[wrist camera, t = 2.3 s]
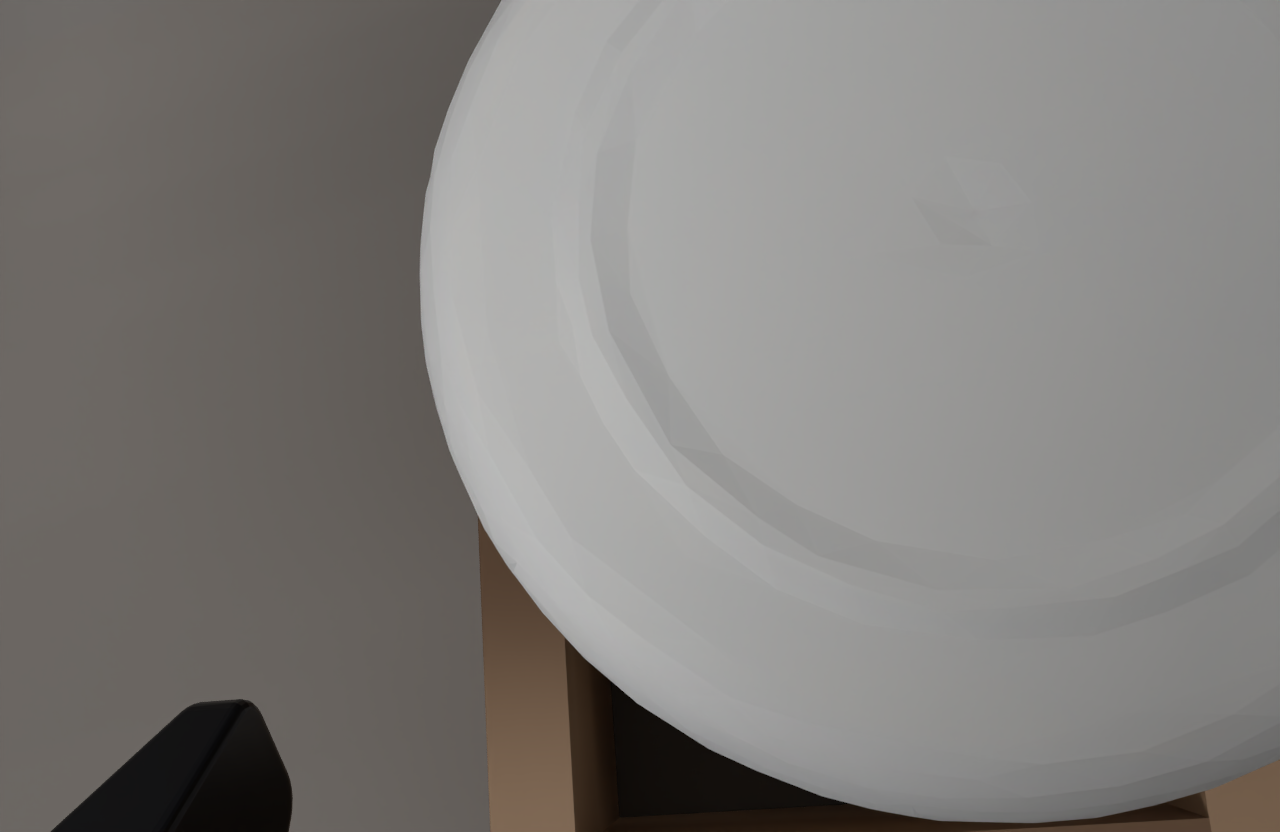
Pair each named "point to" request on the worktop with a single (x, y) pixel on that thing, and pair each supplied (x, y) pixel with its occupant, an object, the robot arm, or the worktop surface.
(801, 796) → the worktop surface
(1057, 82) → the sprinkles bottle
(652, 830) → the walnut holder
